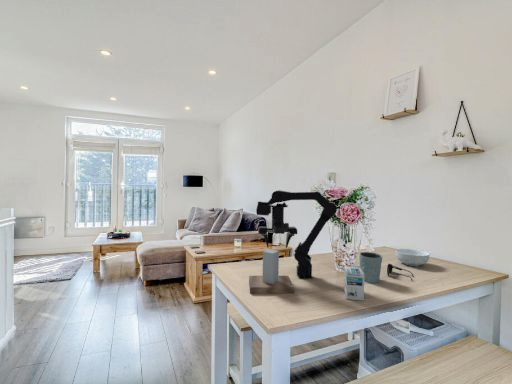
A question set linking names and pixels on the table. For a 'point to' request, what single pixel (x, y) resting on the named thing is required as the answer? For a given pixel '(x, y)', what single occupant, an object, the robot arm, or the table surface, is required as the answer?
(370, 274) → the grey green cup
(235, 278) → the table surface
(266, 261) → the slate block
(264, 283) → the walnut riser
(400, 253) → the cereal bowl
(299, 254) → the robot arm
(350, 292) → the light bulb box
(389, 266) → the sunglasses
